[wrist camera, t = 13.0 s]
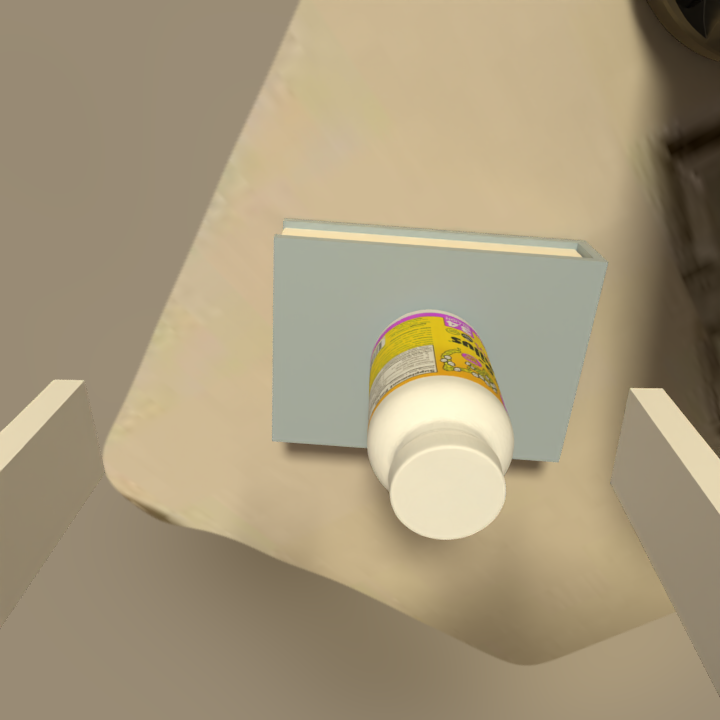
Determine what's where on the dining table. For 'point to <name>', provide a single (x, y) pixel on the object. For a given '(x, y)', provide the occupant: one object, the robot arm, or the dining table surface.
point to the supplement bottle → (438, 425)
